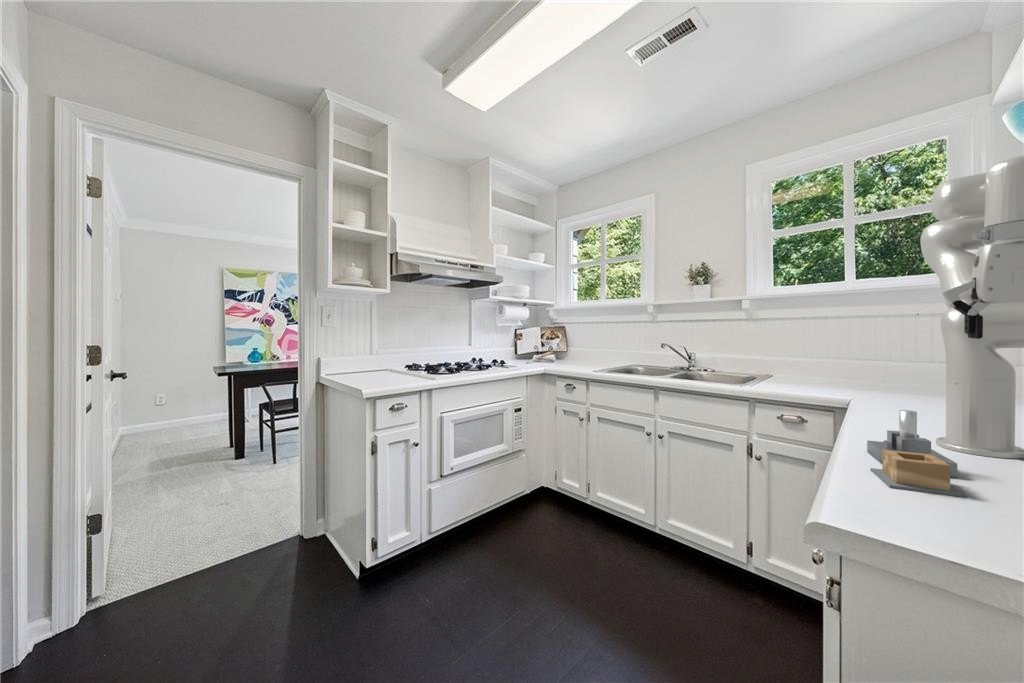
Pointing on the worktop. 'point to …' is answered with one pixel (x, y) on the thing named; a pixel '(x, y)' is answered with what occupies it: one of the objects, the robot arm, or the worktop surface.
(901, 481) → the collar
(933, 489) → the mat
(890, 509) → the worktop surface
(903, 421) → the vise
